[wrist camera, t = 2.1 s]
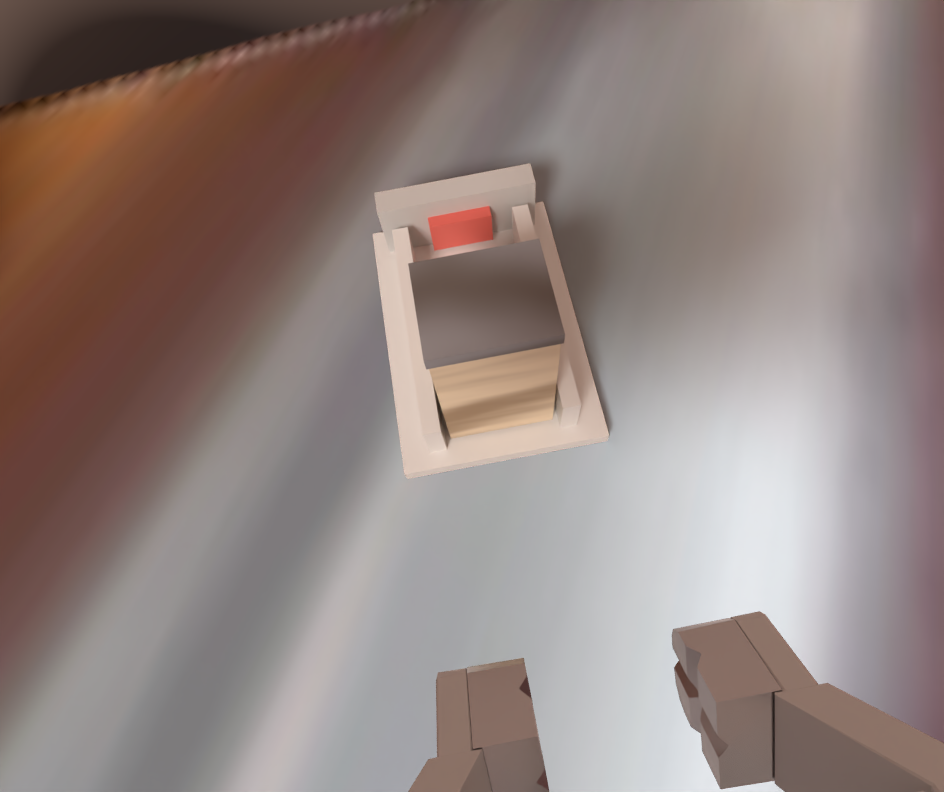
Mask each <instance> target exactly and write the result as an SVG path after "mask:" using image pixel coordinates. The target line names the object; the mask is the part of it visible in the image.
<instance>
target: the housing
mask: <svg viewBox="0 0 944 792" xmlns="http://www.w3.org/2000/svg"><path fill="white" fill-rule="evenodd" d="M535 186H536V182H535V179H534V175H533V172H532V168H531V164H530V163H529V164H524V165H519V166H514V167H508V168H503V169H498V170H493V171H487V172H482V173H477V174H472V175H466V176H461V177H456V178H451V179H445V180H440V181H435V182H430V183H424V184H419V185H414V186H409V187H403V188H398V189H393V190H388V191H382V192H377V193H374V194H375V201H376V208H377V214H378V217H379V220H380V223H381V226H382V229H383V232H381V233H375V234H373V240H374V248H375V255H376V263H377V270H378V278H379V286H380V293H381V301H382V308H383V316H384V323H385V331H386V338H387V346H388V353H389V361H390V368H391V376H392V384H393V391H394V399H395V406H396V414H397V421H398V429H399V436H400V444H401V451H402V459H403V466H404V474H405V476H406V477H407V479H411V478H416V477H421V476H427V475H432V474H437V473H442V472H448V471H453V470H458V469H463V468H469V467H474V466H479V465H484V464H490V463H495V462H500V461H505V460H511V459H516V458H521V457H527V456H532V455H537V454H542V453H548V452H553V451H558V450H563V449H569V448H574V447H579V446H584V445H590V444H595V443H600V442H605V441H607V440H608V438H609V433H608V429H607V425H606V422H605V418H604V415H603V411H602V408H601V404H600V401H599V397H598V394H597V390H596V386H595V383H594V379H593V376H592V372H591V369H590V365H589V362H588V358H587V355H586V351H585V347H584V344H583V340H582V337H581V333H580V330H579V326H578V323H577V319H576V316H575V312H574V308H573V305H572V301H571V298H570V294H569V291H568V287H567V284H566V280H565V277H564V273H563V269H562V266H561V262H560V259H559V255H558V252H557V248H556V245H555V241H554V238H553V234H552V230H551V227H550V223H549V220H548V216H547V213H546V209H545V206H544V202H538V203H535ZM534 239H540V243H541V247H542V251H543V254H544V258H545V262H546V265H547V269H548V273H549V277H550V280H551V284H552V288H553V291H554V295H555V299H556V302H557V306H558V310H559V314H560V317H561V321H562V325H563V328H564V332H565V340H564V343H563V344H561V349H560V358H559V367H558V375H557V384H556V393H555V402H554V411H553V419H552V420H547V421H542V422H536V423H531V424H526V425H521V426H515V427H510V428H505V429H500V430H494V431H489V432H484V433H478V434H473V435H468V436H463V437H457V438H452V439H451V437H450V434H449V431H448V428H447V424H446V421H445V418H444V415H443V412H442V409H441V406H440V402H439V399H438V396H437V393H436V390H435V387H434V384H433V381H432V377H431V374H430V371H429V369H426V367H425V364H424V361H423V354H422V348H421V342H420V335H419V329H418V323H417V316H416V310H415V304H414V297H413V291H412V285H411V279H410V272H409V266H408V263H413V262H419V261H424V260H429V259H434V258H440V257H445V256H450V255H455V254H461V253H466V252H471V251H476V250H482V249H487V248H492V247H497V246H503V245H508V244H513V243H518V242H524V241H529V240H534Z"/></svg>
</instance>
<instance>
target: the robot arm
mask: <svg viewBox="0 0 944 792" xmlns="http://www.w3.org/2000/svg"><path fill="white" fill-rule="evenodd" d="M672 646H673V649H674V651H675V653H676V655H677V657H678V659H679V661H678V663H677V664H676V666H675V667H674V671H675V679H676V686H677V690H678V694H679V698H680V701H681V704H682V707H683V710H684V712H685V715H686V717H687V719H688V721H689V724H690V726H691V727H692V728H693V729H695V730H696V731H698V732H699V733H701V741H702V752H703V754H704V756H705V758H706V760H707V762H708V764H709V766H710V768H711V770H712V773H713V775H714V777H715V779H716V781H717V783H718V785H719V787H720V789H725V788H731V787H737V786H744V785H750V784H756V783H763V782H769V781H775V784H776V785H777V786H778V787H780V788H781V789H782V790H783V791H785V792H944V743H942V742H940V741H938V740H936V739H934V738H932V737H930V736H929V735H927V734H925V733H923V732H921V731H919V730H917V729H915V728H913V727H911V726H909V725H907V724H905V723H904V722H902V721H900V720H898V719H896V718H894V717H892V716H890V715H888V714H886V713H884V712H882V711H880V710H879V709H877V708H875V707H873V706H871V705H869V704H867V703H865V702H863V701H861V700H859V699H857V698H855V697H854V696H852V695H850V694H848V693H846V692H844V691H842V690H840V689H838V688H836V687H834V686H832V685H830V684H829V683H825V684H819V685H818V683H817V682H816V681H815V679H814V678H813V677H812V675H811V674H810V673H809V671H808V670H807V669H806V667H805V666H804V665H803V664H802V662H801V661H800V660H799V658H798V657H797V656H796V654H795V653H794V652H793V650H792V649H791V648H790V646H789V645H788V644H787V642H786V641H785V640H784V639H783V637H782V636H781V635H780V633H779V632H778V631H777V629H776V628H775V627H774V625H773V624H772V623H771V621H770V620H769V619H768V617H767V616H766V615H765V614H763V613H762V612H760V611H759V612H754V613H749V614H745V615H740V616H735V617H731V618H726V619H721V620H716V621H711V622H706V623H701V624H696V625H691V626H686V627H681V628H676V629H673V632H672ZM436 705H437V757H436V758H432V759H428V761H427V762H426V764H425V766H424V767H423V769H422V770H421V772H420V774H419V775H418V777H417V778H416V780H415V782H414V783H413V785H412V787H411V788H410V790H409V791H408V792H549V788H548V782H547V777H546V771H545V766H544V761H543V755H542V750H541V745H540V740H539V734H538V729H537V724H536V719H535V714H534V709H533V703H532V698H531V693H530V688H529V683H528V678H527V673H526V667H525V662H524V658H521V659H515V660H509V661H502V662H496V663H490V664H484V665H478V666H472V667H467V668H465V669H458V670H452V671H446V672H439V673H438V675H437V679H436Z"/></svg>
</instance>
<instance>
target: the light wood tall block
mask: <svg viewBox="0 0 944 792" xmlns="http://www.w3.org/2000/svg"><path fill="white" fill-rule="evenodd" d="M408 266H409V272H410V279H411V285H412V291H413V297H414V304H415V310H416V316H417V323H418V329H419V335H420V342H421V348H422V354H423V361H424V364H425V367H426V369H429V371H430V374H431V377H432V381H433V384H434V387H435V390H436V393H437V396H438V399H439V402H440V406H441V409H442V412H443V415H444V418H445V421H446V424H447V428H448V431H449V434H450V437H451V439H452V438H457V437H463V436H468V435H473V434H478V433H484V432H489V431H494V430H500V429H505V428H510V427H515V426H521V425H526V424H531V423H536V422H542V421H547V420H552V419H553V411H554V402H555V393H556V384H557V375H558V367H559V358H560V349H561V344H563V343H564V340H565V332H564V328H563V325H562V321H561V317H560V314H559V310H558V306H557V302H556V299H555V295H554V291H553V288H552V284H551V280H550V277H549V273H548V269H547V265H546V262H545V258H544V254H543V251H542V247H541V243H540V239H534V240H529V241H524V242H518V243H513V244H508V245H503V246H497V247H492V248H487V249H482V250H476V251H471V252H466V253H461V254H455V255H450V256H445V257H440V258H434V259H429V260H424V261H419V262H413V263H408Z"/></svg>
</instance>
